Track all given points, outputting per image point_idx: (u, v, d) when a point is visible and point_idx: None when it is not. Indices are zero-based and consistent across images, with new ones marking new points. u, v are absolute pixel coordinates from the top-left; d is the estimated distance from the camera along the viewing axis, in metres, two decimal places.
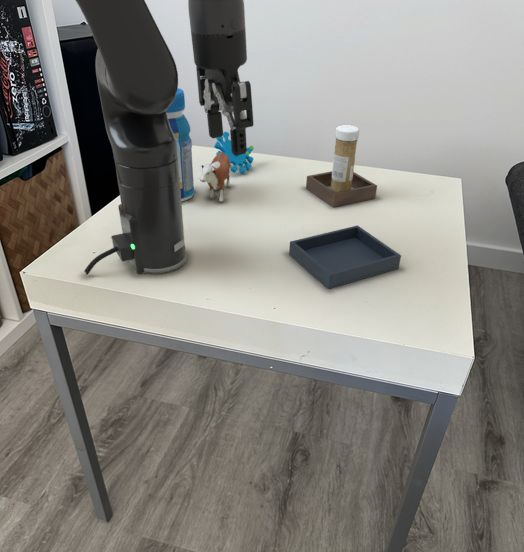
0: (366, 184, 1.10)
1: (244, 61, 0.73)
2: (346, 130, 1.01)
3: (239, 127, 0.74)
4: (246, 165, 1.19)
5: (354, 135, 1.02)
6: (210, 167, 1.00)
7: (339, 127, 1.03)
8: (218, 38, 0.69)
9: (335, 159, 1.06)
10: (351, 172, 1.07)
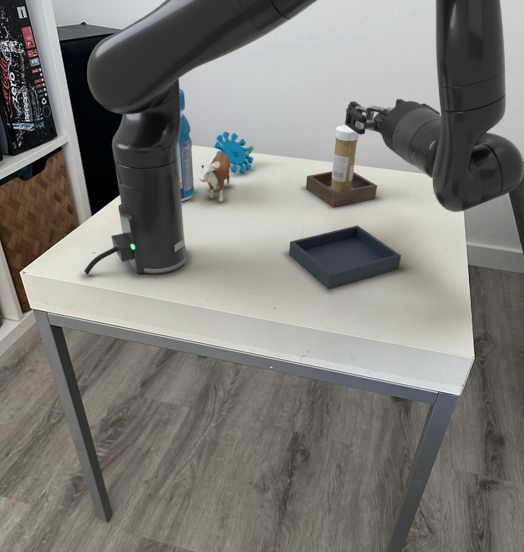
0: (366, 184, 1.10)
1: (385, 143, 0.82)
2: (346, 130, 1.01)
3: (346, 109, 0.85)
4: (246, 165, 1.19)
5: (354, 135, 1.02)
6: (210, 167, 1.00)
7: (339, 127, 1.03)
8: (395, 123, 0.77)
9: (335, 159, 1.06)
10: (351, 172, 1.07)
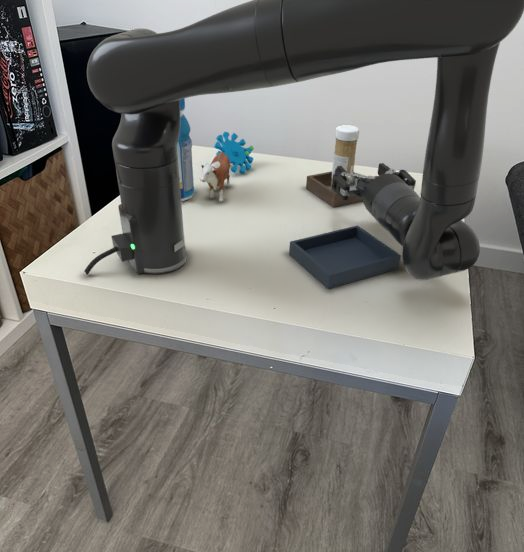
0: None
1: (366, 208, 0.92)
2: (346, 130, 1.01)
3: None
4: (246, 165, 1.19)
5: (354, 135, 1.02)
6: (210, 167, 1.00)
7: (339, 127, 1.03)
8: (374, 195, 0.87)
9: (335, 159, 1.06)
10: (351, 172, 1.07)
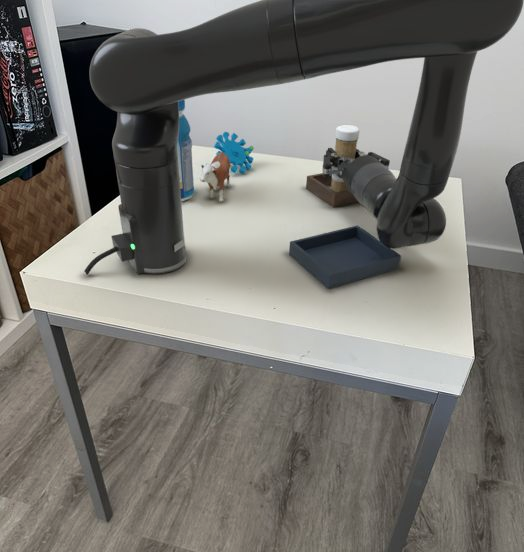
0: None
1: (347, 188, 1.00)
2: (346, 130, 1.01)
3: None
4: (246, 165, 1.19)
5: (354, 135, 1.02)
6: (210, 167, 1.00)
7: (339, 127, 1.03)
8: (353, 174, 0.95)
9: None
10: None
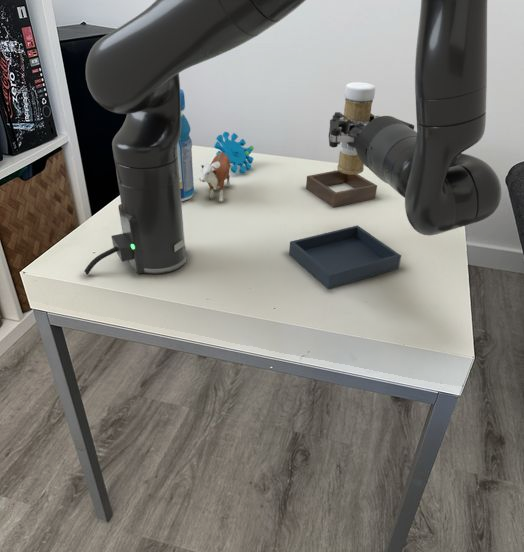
0: (366, 184, 1.10)
1: None
2: (359, 87, 0.80)
3: (330, 121, 0.81)
4: (246, 165, 1.19)
5: (369, 93, 0.80)
6: (210, 167, 1.00)
7: (350, 84, 0.81)
8: (370, 140, 0.73)
9: None
10: None
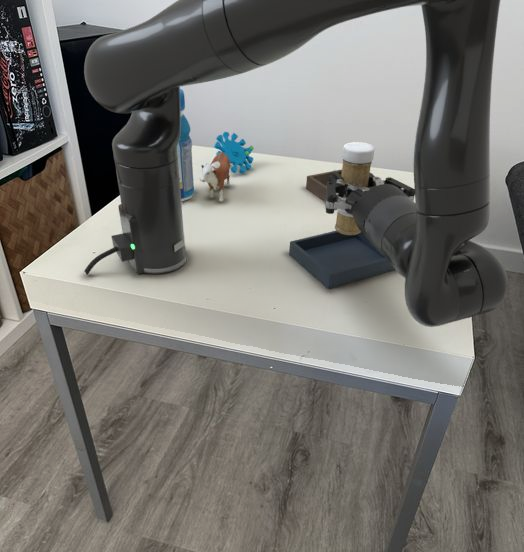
0: None
1: (358, 227, 0.74)
2: (357, 149, 0.76)
3: None
4: (246, 165, 1.19)
5: (368, 156, 0.76)
6: (210, 167, 1.00)
7: (347, 145, 0.77)
8: (368, 211, 0.69)
9: None
10: None
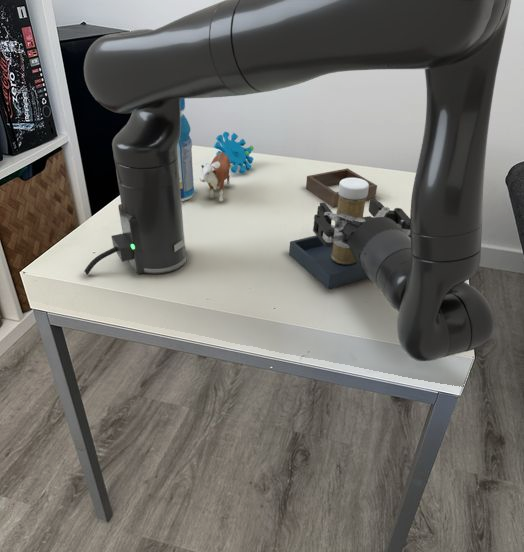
0: None
1: (354, 257, 0.76)
2: (352, 186, 0.79)
3: (314, 217, 0.79)
4: (246, 165, 1.19)
5: (362, 192, 0.79)
6: (210, 167, 1.00)
7: (343, 181, 0.80)
8: (363, 244, 0.71)
9: None
10: None
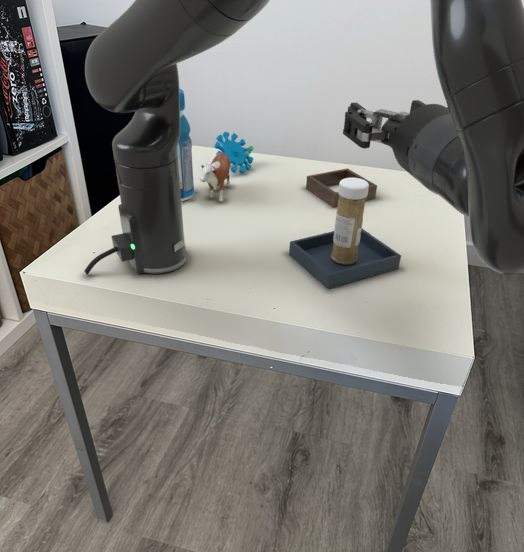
0: None
1: (397, 161, 0.60)
2: (352, 186, 0.79)
3: (345, 114, 0.62)
4: (246, 165, 1.19)
5: (362, 192, 0.79)
6: (210, 167, 1.00)
7: (343, 181, 0.80)
8: (413, 136, 0.55)
9: (338, 220, 0.83)
10: (358, 236, 0.84)
